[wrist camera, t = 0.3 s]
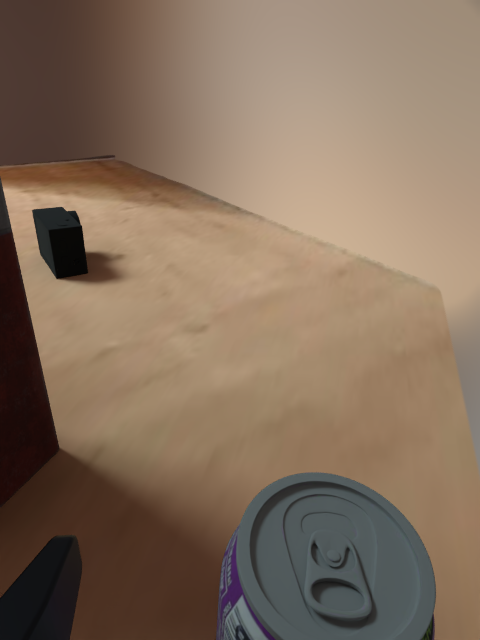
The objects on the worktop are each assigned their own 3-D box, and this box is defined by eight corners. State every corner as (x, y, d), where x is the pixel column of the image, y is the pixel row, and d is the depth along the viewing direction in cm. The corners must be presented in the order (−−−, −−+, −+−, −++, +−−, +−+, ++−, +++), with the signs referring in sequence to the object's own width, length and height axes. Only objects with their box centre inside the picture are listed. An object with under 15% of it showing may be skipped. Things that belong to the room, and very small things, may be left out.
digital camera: (96, 272, 60) (91, 224, 56) (56, 279, 57) (48, 229, 53) (76, 249, 67) (70, 205, 64) (40, 254, 64) (31, 208, 61)
